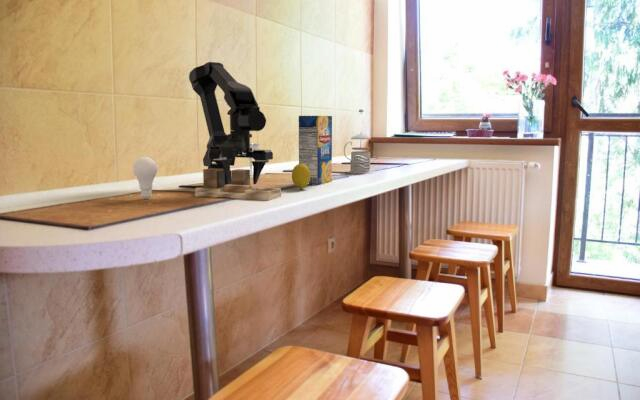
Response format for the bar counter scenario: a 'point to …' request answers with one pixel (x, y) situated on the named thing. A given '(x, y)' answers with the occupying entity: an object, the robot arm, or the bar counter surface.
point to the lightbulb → (145, 174)
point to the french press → (354, 160)
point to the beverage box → (316, 147)
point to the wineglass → (254, 147)
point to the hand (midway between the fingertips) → (240, 183)
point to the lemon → (301, 175)
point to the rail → (245, 195)
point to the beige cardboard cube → (241, 177)
